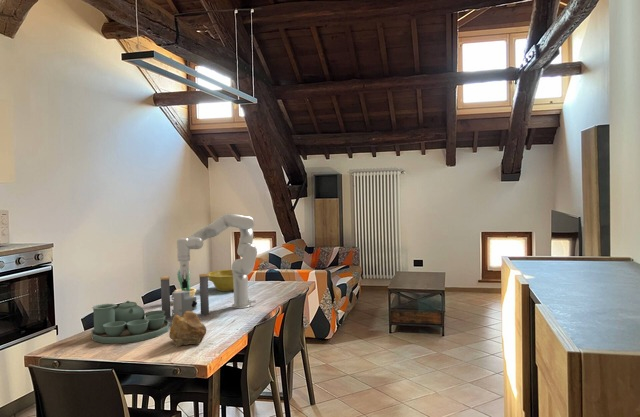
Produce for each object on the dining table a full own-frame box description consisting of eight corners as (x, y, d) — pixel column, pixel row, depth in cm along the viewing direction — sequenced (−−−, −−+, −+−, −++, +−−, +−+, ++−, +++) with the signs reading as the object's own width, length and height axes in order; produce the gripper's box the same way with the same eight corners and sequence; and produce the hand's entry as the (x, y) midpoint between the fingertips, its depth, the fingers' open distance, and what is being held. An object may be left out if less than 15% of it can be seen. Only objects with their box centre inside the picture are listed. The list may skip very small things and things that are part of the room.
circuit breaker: (193, 318, 286) (192, 293, 286) (172, 317, 289) (171, 293, 289) (199, 314, 294) (198, 291, 293) (178, 314, 296) (177, 290, 296)
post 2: (208, 312, 298) (207, 273, 297) (209, 314, 293) (208, 274, 292) (200, 313, 296) (199, 274, 296) (200, 315, 291) (199, 275, 291)
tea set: (120, 349, 230) (118, 315, 230) (76, 337, 253) (75, 306, 253) (185, 329, 263) (184, 299, 262) (141, 320, 286) (140, 293, 285)
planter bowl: (244, 293, 358) (243, 275, 357) (202, 294, 358) (201, 276, 358) (251, 285, 390) (250, 269, 390) (212, 286, 390) (211, 270, 390)
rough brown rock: (197, 352, 224) (199, 320, 224) (163, 348, 226) (165, 317, 226) (213, 338, 247) (214, 310, 247) (182, 336, 249) (184, 308, 249)
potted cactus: (169, 303, 329) (168, 267, 329) (183, 298, 344) (182, 264, 343) (187, 304, 324) (186, 268, 323) (201, 299, 338) (200, 265, 337)
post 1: (170, 316, 291) (169, 276, 291) (170, 318, 286) (169, 277, 286) (162, 317, 290) (160, 277, 289) (161, 319, 285) (160, 278, 284)
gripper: (190, 259, 284) (191, 289, 285) (189, 256, 299) (190, 285, 299) (177, 260, 282) (178, 290, 283) (177, 257, 296) (178, 286, 297)
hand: (184, 287), depth 291 cm, fingers closed
